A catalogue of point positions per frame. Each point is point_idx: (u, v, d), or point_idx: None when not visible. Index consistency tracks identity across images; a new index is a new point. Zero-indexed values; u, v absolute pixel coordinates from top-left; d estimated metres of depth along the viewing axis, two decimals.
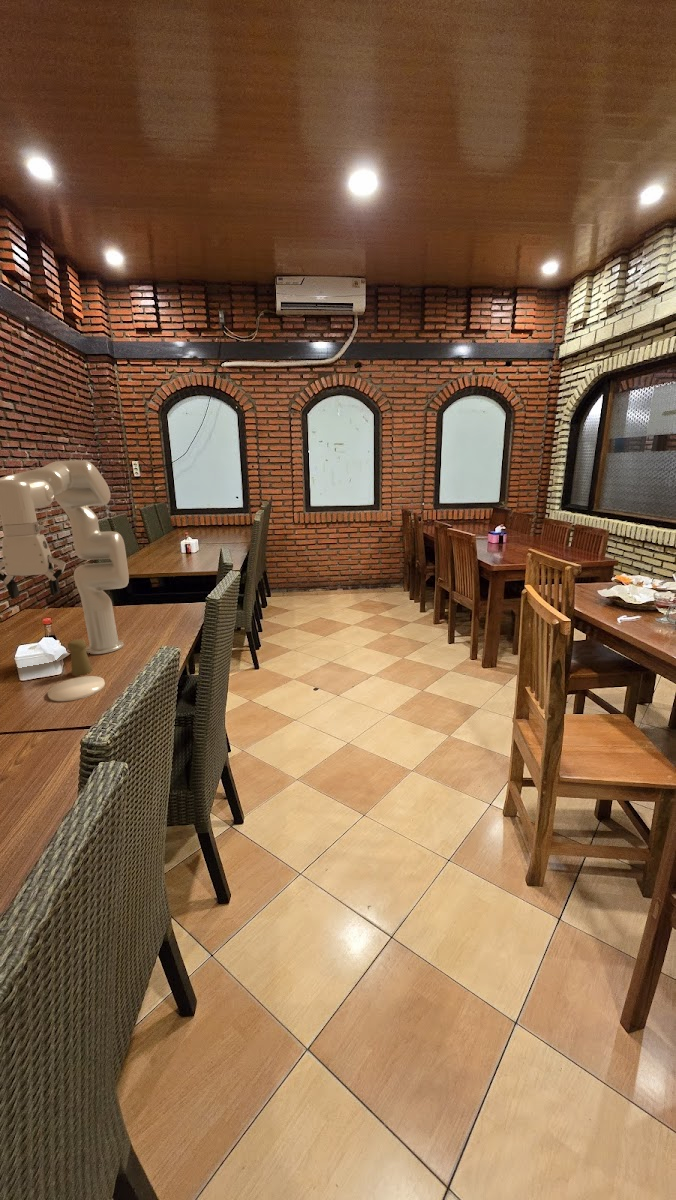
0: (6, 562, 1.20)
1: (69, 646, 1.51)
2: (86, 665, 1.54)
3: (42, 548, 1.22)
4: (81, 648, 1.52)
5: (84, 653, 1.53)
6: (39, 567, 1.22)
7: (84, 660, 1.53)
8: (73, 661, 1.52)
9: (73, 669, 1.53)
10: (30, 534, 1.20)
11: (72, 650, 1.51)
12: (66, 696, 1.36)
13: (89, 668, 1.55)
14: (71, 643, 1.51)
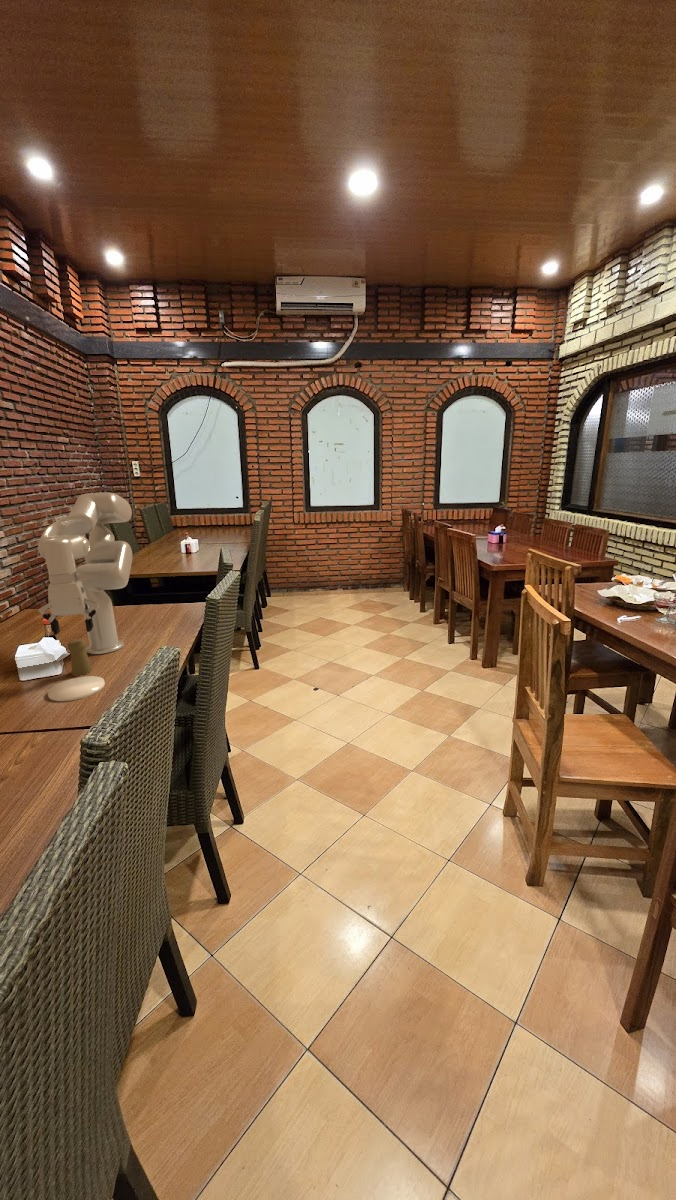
0: (51, 605, 1.46)
1: (69, 646, 1.51)
2: (86, 665, 1.54)
3: (80, 593, 1.47)
4: (81, 648, 1.52)
5: (84, 653, 1.53)
6: (77, 608, 1.48)
7: (84, 660, 1.53)
8: (73, 661, 1.52)
9: (73, 669, 1.53)
10: (71, 582, 1.46)
11: (72, 650, 1.51)
12: (66, 696, 1.36)
13: (89, 668, 1.55)
14: (71, 643, 1.51)
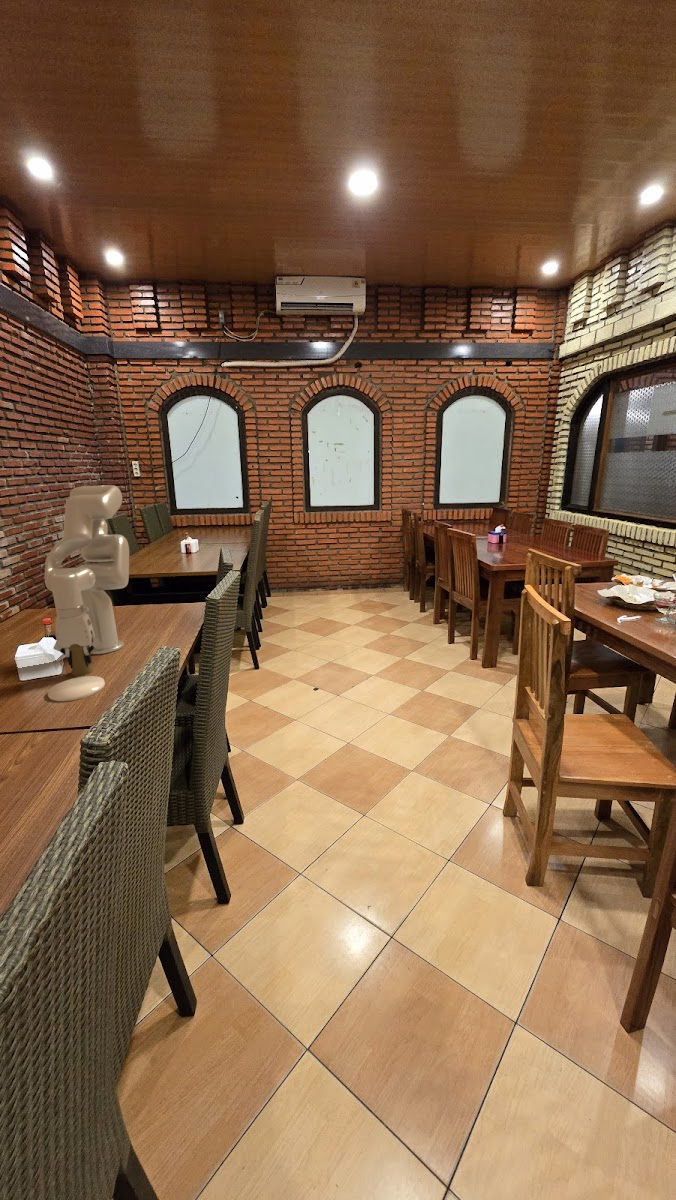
0: (58, 638, 1.49)
1: None
2: None
3: (87, 626, 1.51)
4: (81, 648, 1.52)
5: (84, 653, 1.53)
6: (84, 641, 1.51)
7: None
8: (73, 661, 1.52)
9: (73, 669, 1.53)
10: (78, 615, 1.49)
11: (72, 650, 1.51)
12: (66, 696, 1.36)
13: (89, 668, 1.55)
14: None
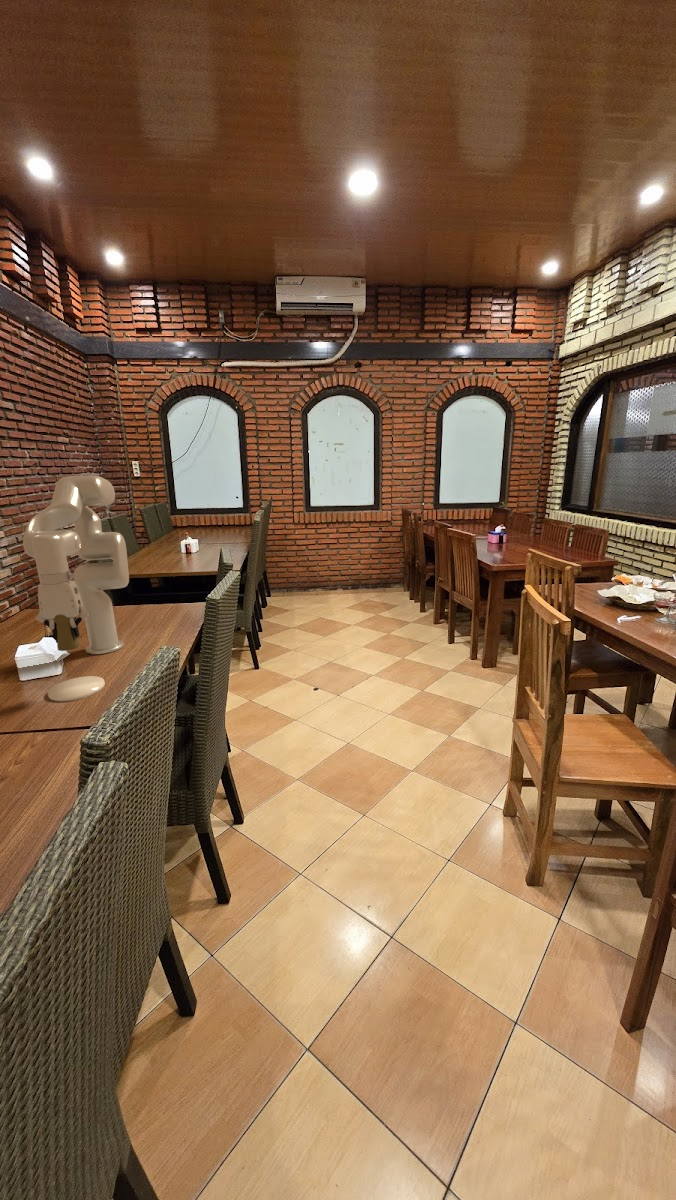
0: (41, 607, 1.33)
1: (54, 617, 1.35)
2: None
3: (73, 594, 1.34)
4: (68, 619, 1.36)
5: None
6: (71, 611, 1.35)
7: None
8: (59, 634, 1.36)
9: (59, 643, 1.36)
10: (63, 582, 1.32)
11: (57, 621, 1.35)
12: (66, 696, 1.36)
13: (77, 642, 1.38)
14: None
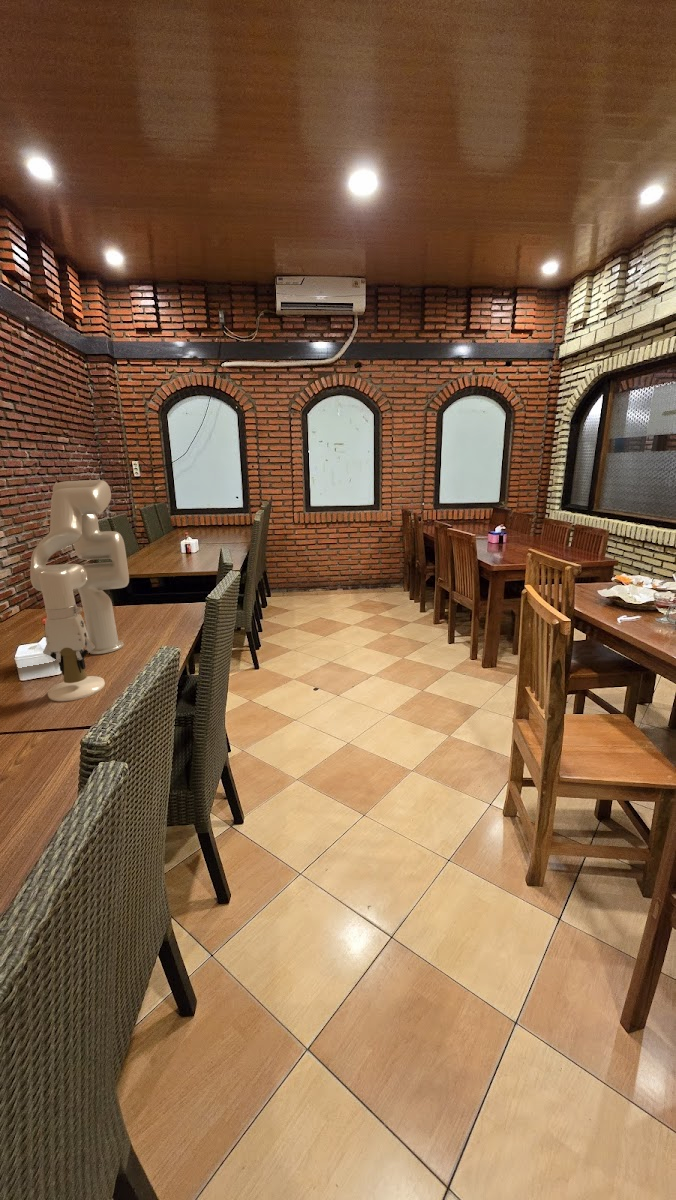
0: (48, 641, 1.36)
1: (61, 650, 1.37)
2: (79, 671, 1.40)
3: (80, 628, 1.37)
4: (74, 652, 1.38)
5: None
6: (77, 644, 1.37)
7: None
8: (65, 666, 1.38)
9: (65, 675, 1.39)
10: (70, 616, 1.35)
11: (64, 654, 1.37)
12: (66, 696, 1.36)
13: (83, 674, 1.41)
14: None
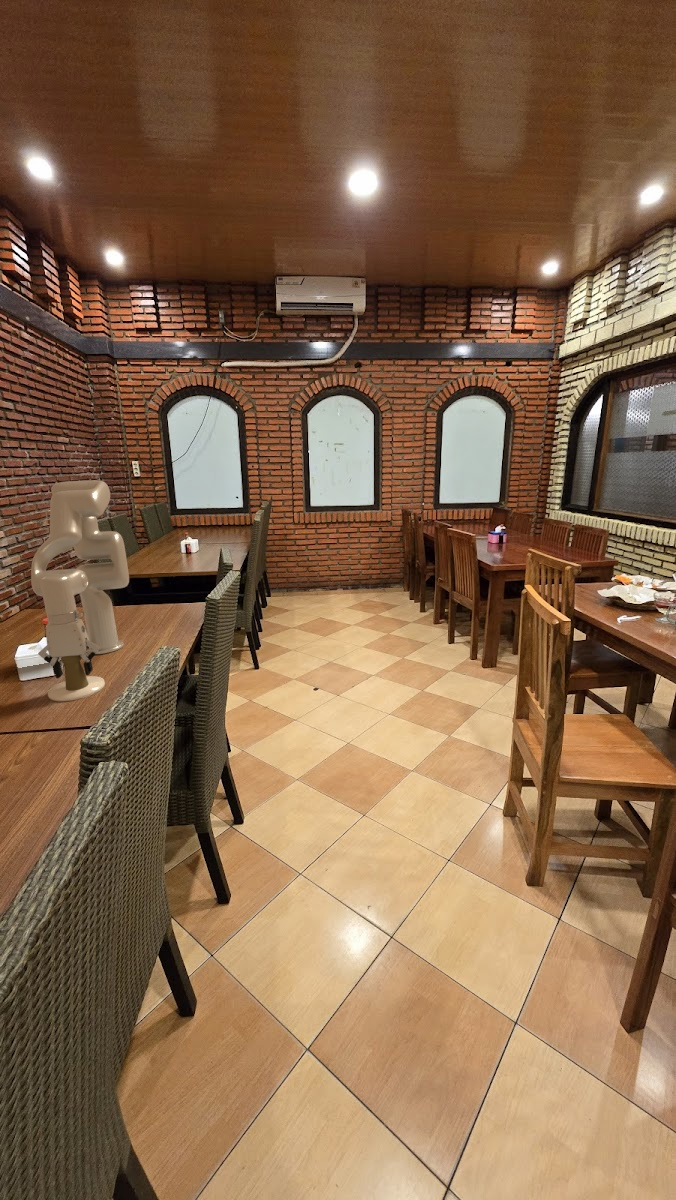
0: (49, 646, 1.36)
1: (63, 658, 1.38)
2: (81, 678, 1.41)
3: (81, 633, 1.37)
4: (76, 660, 1.39)
5: (79, 665, 1.41)
6: (78, 649, 1.38)
7: (80, 673, 1.40)
8: (67, 674, 1.39)
9: (67, 683, 1.40)
10: (71, 622, 1.35)
11: (66, 662, 1.38)
12: (66, 696, 1.36)
13: (85, 681, 1.42)
14: None
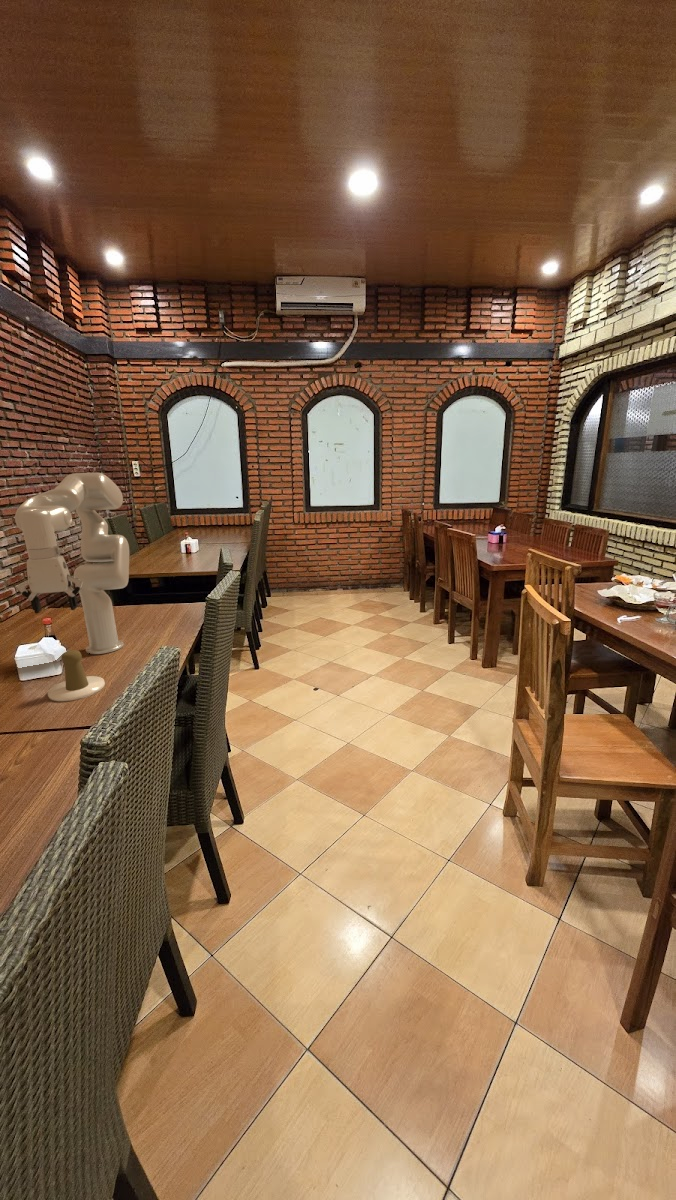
0: (30, 582, 1.36)
1: (63, 658, 1.38)
2: (81, 678, 1.41)
3: (62, 569, 1.37)
4: (76, 660, 1.39)
5: (79, 665, 1.41)
6: (60, 585, 1.38)
7: (80, 673, 1.40)
8: (67, 674, 1.39)
9: (67, 683, 1.40)
10: (52, 557, 1.35)
11: (66, 662, 1.38)
12: (66, 696, 1.36)
13: (85, 681, 1.42)
14: (65, 654, 1.38)
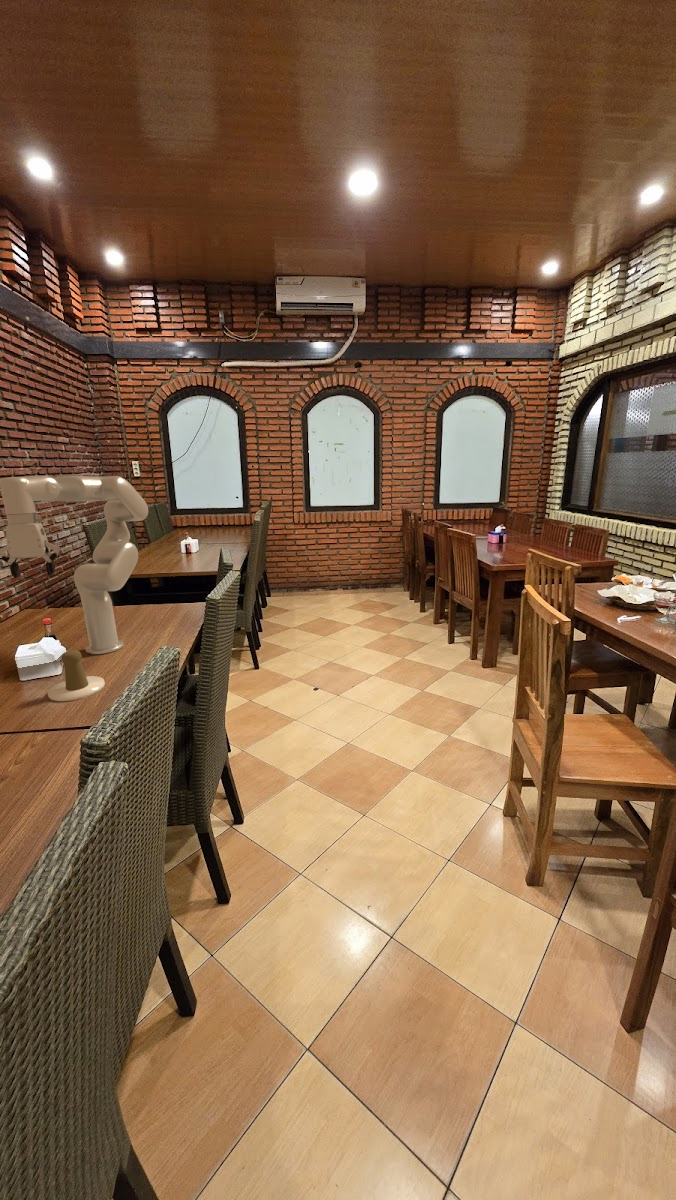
0: (9, 546, 1.42)
1: (63, 658, 1.38)
2: (81, 678, 1.41)
3: (40, 534, 1.44)
4: (76, 660, 1.39)
5: (79, 665, 1.41)
6: (37, 551, 1.44)
7: (80, 673, 1.40)
8: (67, 674, 1.39)
9: (67, 683, 1.40)
10: (30, 522, 1.42)
11: (66, 662, 1.38)
12: (66, 696, 1.36)
13: (85, 681, 1.42)
14: (65, 654, 1.38)
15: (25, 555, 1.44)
